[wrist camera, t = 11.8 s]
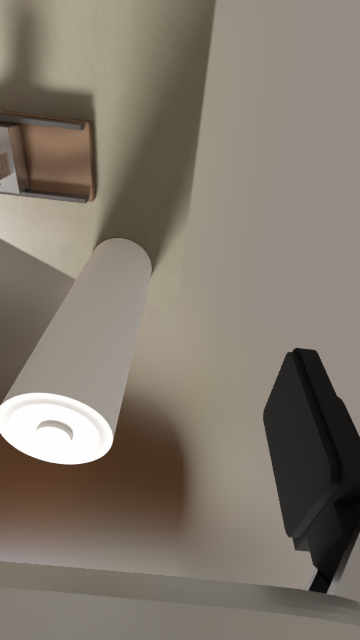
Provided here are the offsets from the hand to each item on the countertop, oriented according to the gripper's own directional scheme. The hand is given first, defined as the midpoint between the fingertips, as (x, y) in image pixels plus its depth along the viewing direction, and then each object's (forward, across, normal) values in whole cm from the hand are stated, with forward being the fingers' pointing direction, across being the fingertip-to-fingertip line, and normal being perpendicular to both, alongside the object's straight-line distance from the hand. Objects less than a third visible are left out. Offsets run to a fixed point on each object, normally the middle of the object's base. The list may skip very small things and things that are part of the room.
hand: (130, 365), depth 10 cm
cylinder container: (+38, +7, +17) cm, 43 cm away
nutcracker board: (+38, +20, +3) cm, 43 cm away
